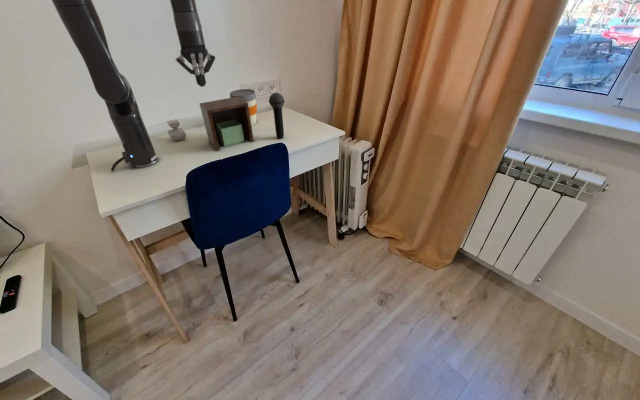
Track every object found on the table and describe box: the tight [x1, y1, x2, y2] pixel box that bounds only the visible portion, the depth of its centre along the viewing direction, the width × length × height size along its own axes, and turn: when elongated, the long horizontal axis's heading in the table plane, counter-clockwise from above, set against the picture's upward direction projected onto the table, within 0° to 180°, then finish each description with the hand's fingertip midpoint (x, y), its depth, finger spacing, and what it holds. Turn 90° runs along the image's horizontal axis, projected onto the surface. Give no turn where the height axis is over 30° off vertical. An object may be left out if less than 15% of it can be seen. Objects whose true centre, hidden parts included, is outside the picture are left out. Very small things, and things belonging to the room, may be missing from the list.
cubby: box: [199, 97, 255, 152], centre depth 121 cm, size 17×11×17 cm, turn 124°
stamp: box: [166, 119, 187, 142], centre depth 126 cm, size 9×7×8 cm
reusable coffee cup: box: [229, 88, 258, 126], centre depth 140 cm, size 13×13×15 cm
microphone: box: [268, 92, 285, 140], centre depth 123 cm, size 7×7×20 cm
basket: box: [215, 119, 245, 148], centre depth 124 cm, size 9×8×8 cm
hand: (202, 86), depth 99 cm, fingers closed
